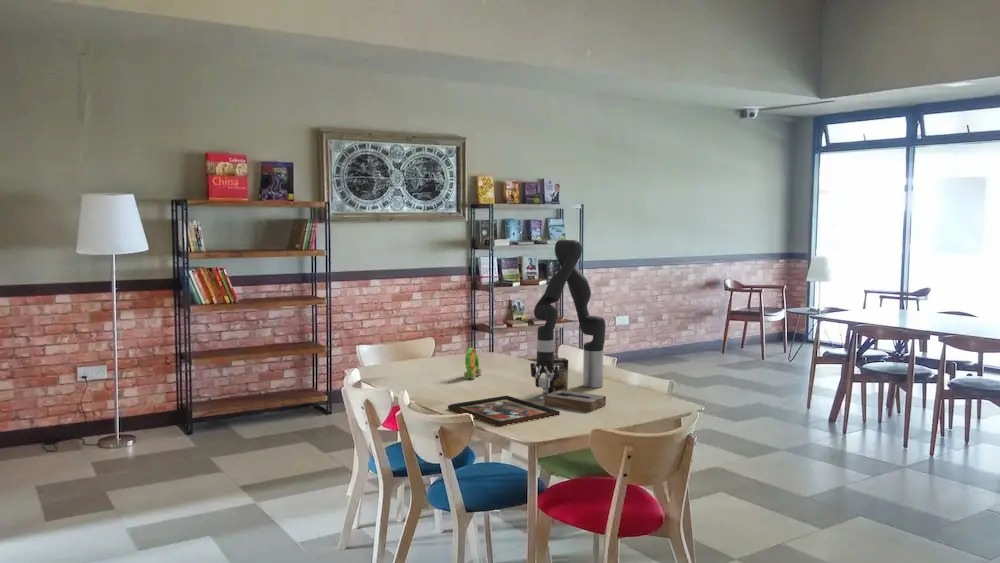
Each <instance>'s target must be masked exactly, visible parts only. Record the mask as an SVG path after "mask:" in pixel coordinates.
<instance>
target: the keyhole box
mask: <svg viewBox="0 0 1000 563" xmlns="http://www.w3.org/2000/svg"><path fill="white" fill-rule="evenodd" d="M606 401H607V396H606V395H599V394H593V393H587V392H586V393H585V392H578V391H571V390H568V391H565V390H559V391H556V392H553V393H550V394H547V395H544V401H543V405H544V406H549V405H551V406H550V407H556V406H558V407H557V408H562V407H563V408H564V409H568V408H570V409H569V410H575V409H576V411H581V410H583V411H582V412H588V411H590V412H589V413H591V412H594V411H596V410H599V409H601V408H604V407H605V405H607V402H606ZM600 407H601V408H600ZM598 408H599V409H598ZM593 410H594V411H593Z"/></svg>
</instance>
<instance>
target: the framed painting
mask: <svg viewBox="0 0 1000 563" xmlns="http://www.w3.org/2000/svg"><path fill="white" fill-rule="evenodd" d="M447 409H448V411H451V412H455V413H456V414H457V413H458V414H460V413H469V414H472V415H473V416H474V417H475V418H476V419H475V418H474V419H475V420H478V419H480V420H479V421H481V420H482V421H481V422H484V421H485V422H484V423H487V422H488V424H490V423H492V424H491V425H493V424H495V425H494V426H496V425H498V426H497V427H504V426H503V425H506V426H508V425H507V424H511V425H513V424H512V423H516V424H519V423H518V422H521V423H524V422H523V421H526V422H529V421H528V420H532V421H534V420H533V419H537V420H540V419H539V418H542V419H545V418H544V417H547V418H550V417H549V416H553V417H555V416H554V415H558V416H560V415H561V414H560V413H561V411H560V410H557V409H553V408H549V407H546V406H543V405H540V404H536V403H533V402H530V401H526V400H523V399H520V398H516V397H514V396H513V397H512V396H511V395H502V396H496V397H488V398H483V399H478V400H470V401H464V402H456V403H452V404H449V405H447Z"/></svg>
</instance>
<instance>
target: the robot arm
mask: <svg viewBox="0 0 1000 563" xmlns="http://www.w3.org/2000/svg"><path fill="white" fill-rule="evenodd" d="M582 251H583V246H582V243H581V242H580V241H579V240H577V239H575V240H574V239H559V240H557V241H556V243H555V246H554V254H555V256H556V259H557V261H558V264H559V265H560V269H558V270H557V271H556V272H555V273H554V275H552V277H550V279H549V281H548V284H547V286H546V287H545V288H546V289H545V291H544V293H543V295H542V296H541V297H540V299H539V300H538V302H537V303H536V304H535V307H534V310H533V315H534V318H535V319H536V320H539V321H545V324H544V325H540V326H538V328H537V341H536V342H537V343H536V362H531V363H530V374H531V378H534V379H535V382H534V384H535V387H536V388H540V387H539V378H541V377H542V374H545V375H546V374H547V375H548V376H549V378H550V380H551V381H550V389H553V388H554V387H555V380H556V379H559V373H560V366H556V365H554V363H553V361H554V358H555V342H554V341H555V340H554V337H555V334H554V332H555V327H556V324H557V320H558V317H559V316H558V315H559V311H558V308H557V307H556V305H553V304H555V303H558V302H559V300H560V299H561V296H562V293H563V291H564V288H565V285H566V283H567V285H568V290H569V292H570V293H569V294H570V296H571V298H572V300H573V305H574V308H575V311H576V315H577V319H578V324H579V328H580V330H581V332H582V334H584V335H585V336H592V340H590V341H589V342H586V343H584V344H583V362H582V363H583V364H582V365H583V367H582V368H583V369H582V378H583V379H582V386H583V387H585V388H590V389H591V388H593V389H594V388H602V387H603V385H604V345H605V340H606V339H605V337H606V321H605V319H604V317H602V316H597V315H590V313H589V310H588V305H589V302H590V299H591V297H592V296H591V295H592V293H591V292H592V290H591V288H590V284H589V281H588V279H587V278H586V276H585V275H584V273H582V271H580V270H579V269H578V268H577V267H576V265H577V264H578V262H579V260H580V258H581V257H582V256H581V255H582V253H583V252H582ZM553 368H554V370H555V372H553V370H552V369H553Z"/></svg>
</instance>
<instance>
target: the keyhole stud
mask: <svg viewBox="0 0 1000 563" xmlns="http://www.w3.org/2000/svg"><path fill="white" fill-rule="evenodd" d="M550 381H551V380H550V378H549V377H545V376H540V378H539V387H538V388H541V389H542V396H539V400H540V401H543V400H544V395H547V388H549V387H550Z"/></svg>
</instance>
